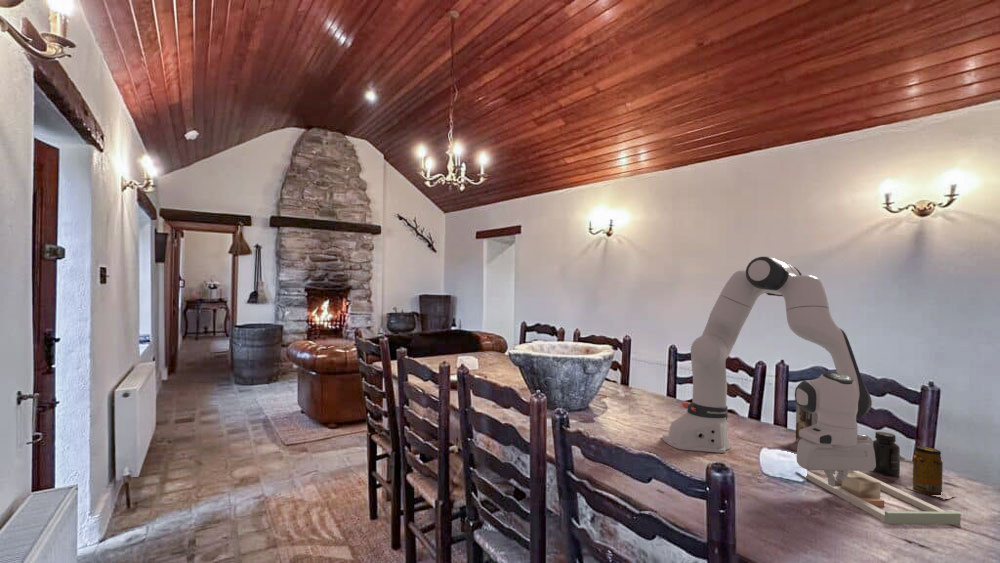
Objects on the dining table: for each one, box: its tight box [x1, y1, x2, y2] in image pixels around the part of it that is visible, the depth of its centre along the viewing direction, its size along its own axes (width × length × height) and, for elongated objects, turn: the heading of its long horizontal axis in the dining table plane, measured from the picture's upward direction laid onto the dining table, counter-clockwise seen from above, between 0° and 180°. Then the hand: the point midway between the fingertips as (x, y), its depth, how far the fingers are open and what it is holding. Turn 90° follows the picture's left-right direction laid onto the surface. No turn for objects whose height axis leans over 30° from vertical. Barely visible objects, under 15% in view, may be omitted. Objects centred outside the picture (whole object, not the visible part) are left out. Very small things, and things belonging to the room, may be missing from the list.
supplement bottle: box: [872, 431, 901, 477], centre depth 141 cm, size 7×7×12 cm
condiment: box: [905, 445, 946, 501], centre depth 127 cm, size 7×8×12 cm
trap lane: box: [805, 470, 962, 525], centre depth 124 cm, size 18×30×2 cm, turn 4°
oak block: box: [840, 473, 881, 499], centre depth 123 cm, size 6×6×5 cm
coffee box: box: [795, 403, 818, 444], centre depth 165 cm, size 9×6×16 cm
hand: (835, 485), depth 123 cm, fingers closed
